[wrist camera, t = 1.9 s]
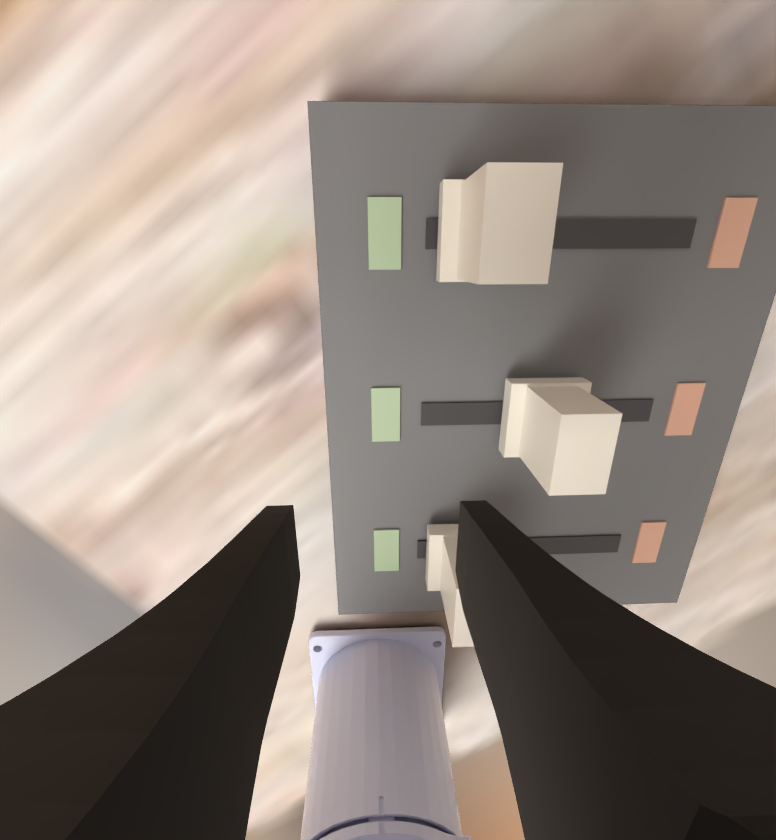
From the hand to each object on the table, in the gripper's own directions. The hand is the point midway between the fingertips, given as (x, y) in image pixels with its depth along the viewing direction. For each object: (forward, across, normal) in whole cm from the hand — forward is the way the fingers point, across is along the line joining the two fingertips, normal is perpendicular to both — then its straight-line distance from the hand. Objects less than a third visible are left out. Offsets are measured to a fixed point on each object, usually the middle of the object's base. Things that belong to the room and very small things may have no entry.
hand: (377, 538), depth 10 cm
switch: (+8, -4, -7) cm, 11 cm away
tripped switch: (+8, -7, 0) cm, 11 cm away
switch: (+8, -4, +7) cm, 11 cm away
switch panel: (+10, -7, 0) cm, 13 cm away
